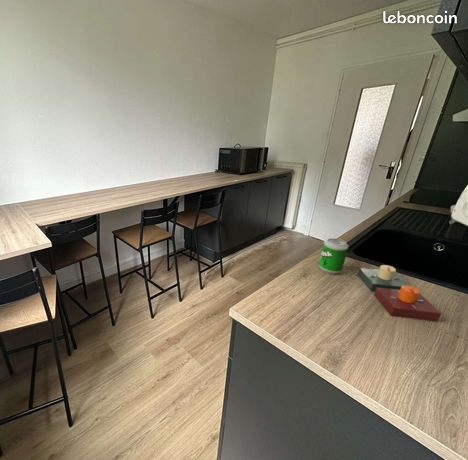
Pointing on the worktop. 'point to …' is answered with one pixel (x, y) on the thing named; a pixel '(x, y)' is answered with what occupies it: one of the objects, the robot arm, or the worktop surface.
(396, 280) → the handle plate
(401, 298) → the seal
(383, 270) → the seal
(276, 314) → the worktop surface
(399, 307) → the handle plate
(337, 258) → the soda can
